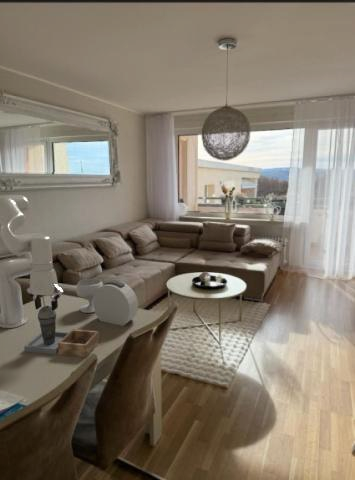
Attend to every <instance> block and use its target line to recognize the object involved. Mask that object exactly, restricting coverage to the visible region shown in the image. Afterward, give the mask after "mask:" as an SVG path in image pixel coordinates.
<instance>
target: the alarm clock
mask: <svg viewBox="0 0 355 480" xmlns="http://www.w3.org/2000/svg"><path fill="white" fill-rule="evenodd" d="M93 306H94V310H95V312H94V313H95V315H96V316H97V319H99V320H100V321H101V322H103V321H104V323H108V322H109V324H114V325H118V326H123V327H124V326H125V325H126V324H128V323H130V322H131V321H132V320H133V319H134V318H135V317H136V315H137V313H138V310H139V302H138V297H137V295H136V292H135V291H134V290H133V288H132V287H131V286H130V285H128V284H127V283H126V282H123V281H119V280H116V279H114V280H108V281H105V282H104V283H103V286H101V287H100V288H99V289H97V291H96V292H95V294H94V298H93Z"/></svg>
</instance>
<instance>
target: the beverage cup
mask: <svg viewBox="0 0 355 480" xmlns="http://www.w3.org/2000/svg"><path fill="white" fill-rule="evenodd" d="M41 300H42V303H43V307H42V306H41V307H40V308H39V311H38V313H37V319H38V323H39V326H40V331H41V332H42V337H43V341H44V344H52V343H54V342H55V331H56V319H57V313H56V309H55V310H54V311H53V310H52V306H51V305H46V303H45V298H44V295H41ZM41 332H40V333H41Z"/></svg>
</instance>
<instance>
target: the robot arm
mask: <svg viewBox="0 0 355 480" xmlns="http://www.w3.org/2000/svg"><path fill="white" fill-rule="evenodd" d="M29 208H30V203H29V200H28V199H27V198H26V197H25V196H24V195H22V194H9V195H7V194H6V195H0V220H1V221H2V222H1V221H0V258H4V257H5V258H4V259H0V328H1V327H2V328H1V329H13V328H17V327H21V326H23V325H25V324H26V323H27V322H28V317H27V316H26V315H25V314H24V306H23V305H24V304H23V297H22V296H23V295H22V287H21V284H20V283H19V282H17V280H15V279H17V278H19V277H23V276H28V275H29V277H30V278H29V287H27V289H26V291H27V293H28V294H29V295H30V297H31V298H32V300H34V307H35V310H38V309H39V310H40V309H41V308H42V297H40V296H43V297H44V296H46V297H50V299H51V302H50V304H51V305H50V306H51V307H52V310H53V311H54V310H55V311H56V309H58V306H59V303H58V300H59V298H60V297H61V296H62V294H64V293H65V292H64V291H65V290H63V289H62V288H61V287H60V286H59V283H58V278H57V276H58V275H57V272H56V270H55V268H54V263H53V252H52V251H53V250H52V241H51V237H50V236H49V235H44V234H42V233H40V232H32V233H26V234H24V233H23V234H14V232H16V231H17V230H19V229H20V228H21V227H23V226H24V225H25V223H26V215H25V213H27V212H28V211H29ZM15 255H16V256H15ZM10 256H14V257H10ZM6 257H9V258H6Z"/></svg>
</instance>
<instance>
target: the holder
mask: <svg viewBox="0 0 355 480" xmlns="http://www.w3.org/2000/svg"><path fill="white" fill-rule="evenodd" d="M68 332H69V333H68V334H67V335H66V336H65V337H64V338H63V339H62V340H61V341H59V342H58V355H59V356H68V357H80V358H88V357H90V355H91V353H92V352H93V351H95V349H96V347H97V346H98V345H99V344H100V343H101V342H100V331H98V330H97V331H96V330H88V329H87V330H85V329H71V330H70V331H68ZM75 342H78V343H75Z"/></svg>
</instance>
